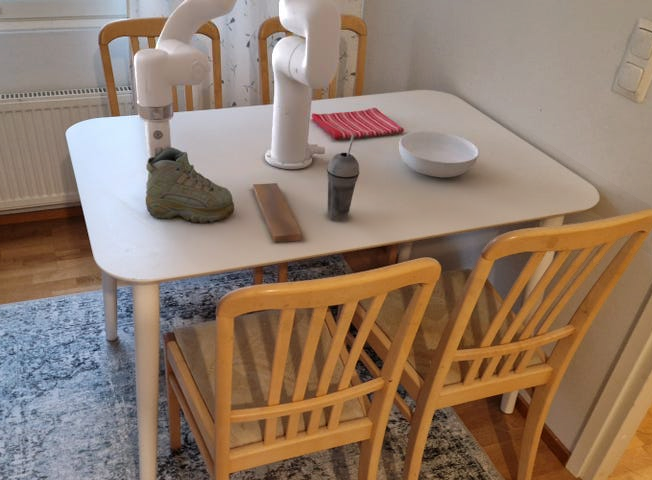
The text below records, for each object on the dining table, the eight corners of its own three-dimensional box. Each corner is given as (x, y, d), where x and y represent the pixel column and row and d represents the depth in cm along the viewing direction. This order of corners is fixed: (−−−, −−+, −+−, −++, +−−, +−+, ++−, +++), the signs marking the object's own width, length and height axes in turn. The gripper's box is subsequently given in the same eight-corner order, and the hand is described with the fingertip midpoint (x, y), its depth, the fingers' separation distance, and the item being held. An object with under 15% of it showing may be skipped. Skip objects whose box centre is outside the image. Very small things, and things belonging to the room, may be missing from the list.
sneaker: (224, 231, 137) (225, 165, 130) (140, 218, 140) (136, 153, 132) (237, 211, 146) (239, 149, 139) (158, 200, 149) (156, 138, 142)
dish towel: (308, 120, 194) (309, 112, 192) (376, 113, 202) (377, 105, 201) (333, 142, 181) (334, 133, 180) (404, 134, 189) (405, 126, 188)
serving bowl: (487, 171, 172) (493, 147, 168) (446, 195, 159) (452, 170, 155) (422, 146, 183) (427, 124, 179) (379, 166, 170) (383, 142, 166)
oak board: (276, 188, 156) (276, 183, 155) (301, 240, 137) (302, 234, 136) (252, 190, 154) (252, 184, 153) (274, 242, 135) (274, 236, 134)
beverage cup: (319, 208, 149) (328, 127, 137) (350, 208, 150) (361, 128, 138) (323, 224, 143) (333, 141, 131) (355, 224, 144) (367, 142, 132)
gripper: (176, 122, 132) (179, 199, 143) (170, 97, 144) (173, 170, 154) (139, 123, 130) (145, 201, 141) (136, 97, 142) (141, 171, 153)
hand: (159, 185), depth 148 cm, fingers closed
